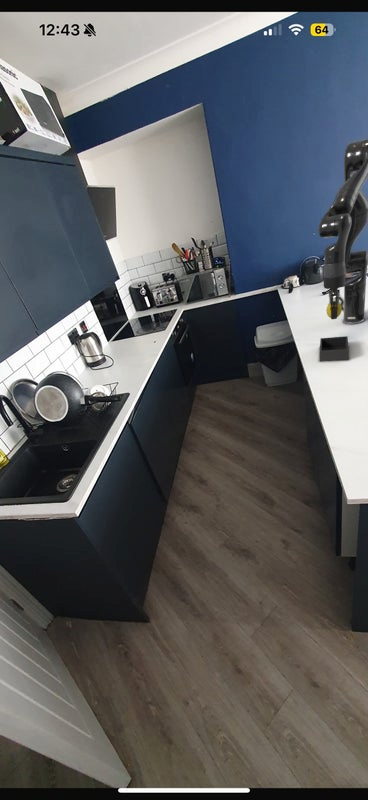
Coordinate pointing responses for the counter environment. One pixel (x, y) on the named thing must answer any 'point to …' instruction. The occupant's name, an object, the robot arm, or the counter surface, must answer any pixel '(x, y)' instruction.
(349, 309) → the robot arm
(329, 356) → the tote
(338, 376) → the counter surface
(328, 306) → the lemon
